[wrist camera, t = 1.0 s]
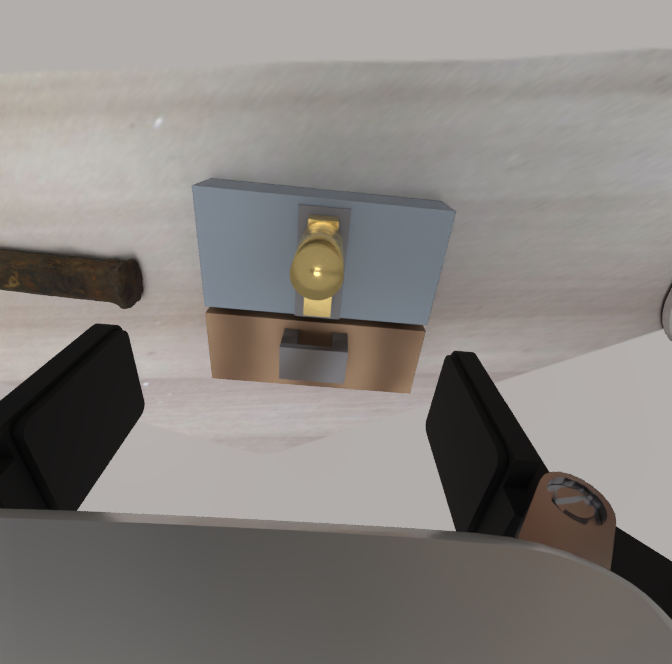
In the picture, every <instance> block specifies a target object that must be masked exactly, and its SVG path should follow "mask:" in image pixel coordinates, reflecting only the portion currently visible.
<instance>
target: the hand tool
mask: <svg viewBox="0 0 672 664" xmlns="http://www.w3.org/2000/svg"><path fill="white" fill-rule="evenodd" d="M0 289H1V290H7V291H16V292H24V293H31V294H39V295H48V296H58V297H66V298H75V299H86V300H95V301H100V302H101V301H103V302H111V303H114V304H117V305H118V306H120V308H122V309H127V308H131V307H132V306H133V305H135V303H136V302H137V301H139V300H140V299H141V294H142V292H143V286H142V275H141V271H140V268H139V266H138V263H137V262H136V261H135V260H128V261H119V260H111V259H108V260H106V261H99V260H91V259H86V258H77V257H59V256H54V255H52V254H48V255H46V254H34V253H24V252H15V251H7V250H0Z"/></svg>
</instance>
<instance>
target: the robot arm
mask: <svg viewBox="0 0 672 664" xmlns="http://www.w3.org/2000/svg"><path fill="white" fill-rule="evenodd" d="M662 324H663V327H664V331H665V333H666V335H667V336H668V338H669V339H670V340H671V341H672V288H671V290H670V292H669V295H668V297H667V299H666V301H665V305H664V309H663V313H662ZM144 404H145V403H144V398H143V394H142V390H141V385H140V381H139V377H138V373H137V369H136V364H135V360H134V356H133V352H132V348H131V344H130V339H129V335H128V333H127V332H126V331H123V330H122V328H121V327H120V326H118V325H110V324H94V325H93V326H91V327H90V328H89V329H88V330H87V331H85V332H84V333H83V334H82V335H80V336H79V337H78V338H77V339H75V340H74V341H73V342H72V343H71V344H69V345H68V346H67V347H66V348H64V349H63V350H62V351H61V352H59V353H58V354H57V355H56V356H55V357H53V358H52V359H51V360H50V361H48V362H47V363H46V364H45V365H43V366H42V367H41V368H40V369H39V370H37V371H36V372H35V373H34V374H32V375H31V376H30V377H29V378H27V379H26V380H25V381H24V382H23V383H21V384H20V385H19V386H18V387H16V388H15V389H14V390H13V391H12V392H10V393H9V394H8V395H7V396H5V397H4V398H3V399H2V400H0V664H672V561H670V560H669V559H667V558H665V557H664V556H662V555H661V554H659V553H658V552H656V551H654V550H653V549H651V548H650V547H648V546H646V545H645V544H643V543H642V542H640V541H638V540H637V539H635V538H634V537H632V536H630V535H629V534H627V533H626V532H624V531H622V530H621V529H619V528H618V527H616V517H615V513H614V511H613V509H612V507H611V505H610V503H609V502H608V501H607V500H606V498H605V497H604V496H603V495H602V494H601V493H600V492H599V491H598V490H596V489H595V488H594V487H593V486H592V485H590V484H588V483H587V482H585V481H584V480H582V479H580V478H578V477H575V476H573V475H571V474H567V473H563V472H549V471H548V469H547V468H546V466H545V465H544V463H543V461H542V460H541V458H540V456H539V455H538V453H537V452H536V450H535V448H534V447H533V445H532V444H531V442H530V440H529V439H528V437H527V436H526V434H525V432H524V431H523V429H522V428H521V426H520V424H519V423H518V421H517V419H516V418H515V417H514V415H513V413H512V411H511V410H510V408H509V407H508V405H507V404H506V402H505V401H504V399H503V397H502V396H501V395H500V393H499V391H498V389H497V388H496V386H495V385H494V383H493V381H492V380H491V378H490V377H489V375H488V373H487V372H486V370H485V369H484V367H483V365H482V364H481V362H480V361H479V359H478V357H477V356H476V354H475V353H473V352H463V351H454V352H453V353H452V354H451V355H447V356H446V357H445V360H444V363H443V366H442V370H441V373H440V376H439V380H438V383H437V386H436V390H435V393H434V397H433V400H432V403H431V407H430V410H429V413H428V417H427V420H426V433H427V436H428V440H429V443H430V446H431V450H432V453H433V456H434V459H435V463H436V466H437V469H438V472H439V476H440V479H441V483H442V486H443V489H444V493H445V496H446V499H447V503H448V506H449V509H450V513H451V516H452V519H453V523H454V526H455V529H456V531H442V530H429V529H415V528H398V527H381V526H363V525H346V524H329V523H311V522H292V521H273V520H254V519H253V520H252V519H234V518H214V517H195V516H175V515H152V514H131V513H110V512H108V513H107V512H88V511H87V512H86V511H77V509H78V508H79V507H80V505H81V504H82V502H83V501H84V499H85V498H86V496H87V495H88V493H89V492H90V490H91V489H92V487H93V486H94V484H95V483H96V481H97V480H98V478H99V477H100V475H101V474H102V473H103V471H104V470H105V468H106V466H107V465H108V464H109V462H110V460H111V459H112V458H113V456H114V455H115V453H116V452H117V450H118V449H119V447H120V446H121V444H122V443H123V441H124V440H125V438H126V437H127V436H128V434H129V433H130V431H131V429H132V428H133V427H134V425H135V424H136V422H137V421H138V419H139V418H140V416H141V415H142V413H143V410H144Z"/></svg>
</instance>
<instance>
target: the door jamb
mask: <svg viewBox="0 0 672 664" xmlns="http://www.w3.org/2000/svg"><path fill="white" fill-rule="evenodd" d="M206 323H207V332H208V342H209V351H210V360H211V370H212V378H218V379H231V380H243V381H256V382H269V383H282V384H294V385H307V386H320V387H333V388H345V389H358V390H371V391H384V392H397V393H409V394H410V391H411V387H412V383H413V379H414V375H415V371H416V367H417V363H418V359H419V356H420V352H421V348H422V344H423V340H424V336H425V332H426V331H425V329H424V327H423V325H418V324H406V323H394V322H383V321H371V320H360V319H348V318H340V319H328V318H316V317H304V316H295V314H290V313H278V312H266V311H255V310H243V309H231V308H220V307H209V309H208V310H207V311H206Z"/></svg>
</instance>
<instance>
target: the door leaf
mask: <svg viewBox="0 0 672 664" xmlns="http://www.w3.org/2000/svg"><path fill="white" fill-rule="evenodd" d="M192 191H193V200H194V210H195V219H196V229H197V238H198V247H199V257H200V266H201V276H202V285H203V295H204V304H205V306H208V307H220V308H231V309H243V310H255V311H266V312H278V313H290V314H295V316H304V317H316V318H328V319H340V318H348V319H360V320H371V321H383V322H394V323H406V324H418V325H427V324H428V320H429V316H430V312H431V308H432V304H433V300H434V296H435V292H436V288H437V285H438V281H439V277H440V273H441V269H442V265H443V261H444V257H445V253H446V249H447V245H448V241H449V237H450V233H451V229H452V225H453V221H454V217H455V214H456V211H455V210H453V209H452V208H450V207H449V206H448V205H446V204H445V203H443V202H442V201H434V200H424V199H414V198H404V197H394V196H384V195H374V194H364V193H354V192H344V191H334V190H324V189H314V188H303V187H293V186H283V185H273V184H263V183H253V182H243V181H233V180H223V179H213V178H210V179H208V180H205V181H203V182H200V183H197V184H195V185H192ZM310 214H312V215H323V216H333V217H339V227H338V230H339V232H340V233H341V236H342V239H343V265H344V279H343V283H342V286H341V288H340V289H339V291H338V292H337V293H336V294H335V295H333V296H332V302H331V312H330V317H318V316H307V315H303V309H304V297H303V296H301V295H300V294H299V293H298V292H297V291H296V290H295V289H294V287H293V286H292V283H291V280H290V268H291V265H292V262H293V259H294V256H295V254H296V251H297V248H298V245H299V242H300V240H301V237H302V234H303V232H304V231H305V229H306V228H307V227H308V218H309V215H310Z"/></svg>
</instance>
